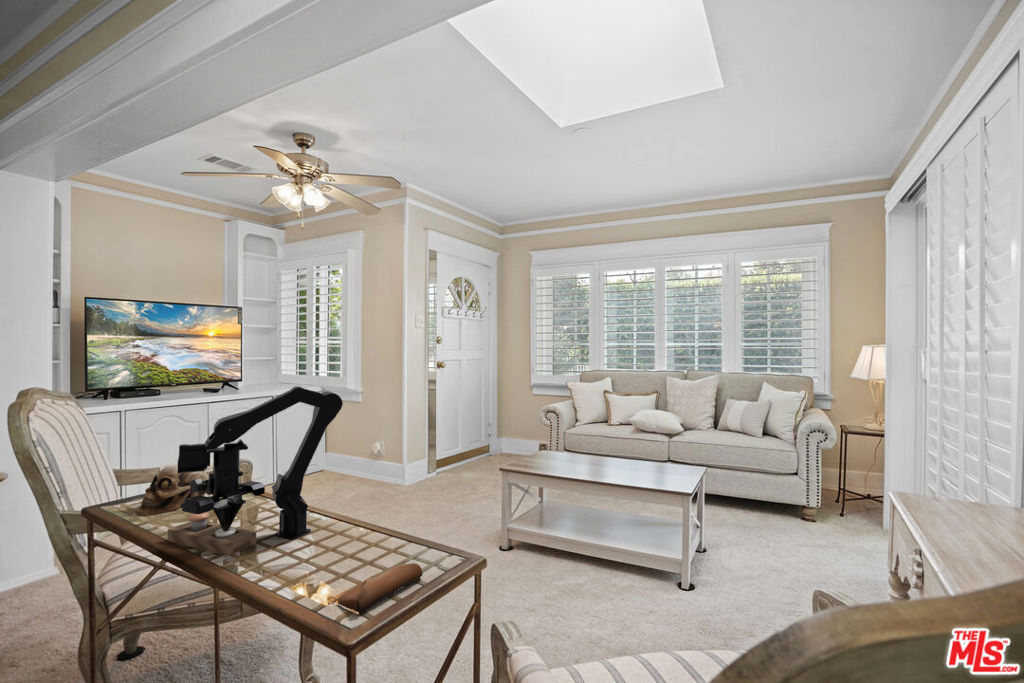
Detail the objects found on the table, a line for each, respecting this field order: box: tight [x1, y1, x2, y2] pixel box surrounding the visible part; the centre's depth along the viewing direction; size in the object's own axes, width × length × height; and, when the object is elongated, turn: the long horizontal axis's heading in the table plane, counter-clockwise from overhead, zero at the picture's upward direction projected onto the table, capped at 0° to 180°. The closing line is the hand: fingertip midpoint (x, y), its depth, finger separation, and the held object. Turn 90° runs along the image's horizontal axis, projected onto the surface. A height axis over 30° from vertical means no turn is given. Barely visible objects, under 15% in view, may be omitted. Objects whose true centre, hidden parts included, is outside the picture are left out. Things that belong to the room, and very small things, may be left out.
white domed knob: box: [215, 527, 236, 539], centre depth 126 cm, size 4×4×4 cm
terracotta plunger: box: [188, 512, 210, 532], centre depth 130 cm, size 4×4×4 cm
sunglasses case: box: [335, 562, 423, 615], centre depth 104 cm, size 18×7×7 cm
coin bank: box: [134, 464, 209, 516], centre depth 157 cm, size 16×17×13 cm
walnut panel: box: [167, 520, 257, 557], centre depth 128 cm, size 22×8×3 cm, turn 67°
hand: (225, 530), depth 126 cm, fingers closed
